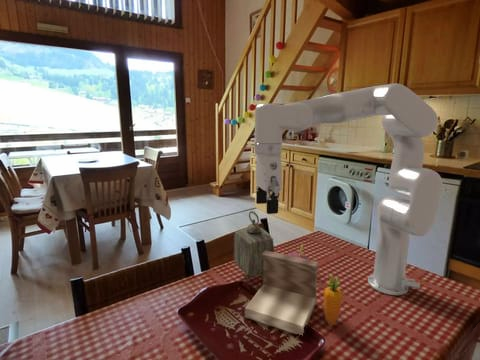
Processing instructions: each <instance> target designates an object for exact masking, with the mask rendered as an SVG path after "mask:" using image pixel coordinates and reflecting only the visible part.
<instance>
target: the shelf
mask: <svg viewBox="0 0 480 360" xmlns="http://www.w3.org/2000/svg"><path fill="white" fill-rule="evenodd" d="M262 259H264V273H263V277H262V279H263V280H262V281H263V282H262V285H261V286H260V288H259V289H258V290H257V292H256V293H255V295H253V296H252V299H251V300H250V301H249V302H248V304H247V305H246V306H245V308H244V318H246V319H249V320H252V321H256V322H258V323H262V324H264V325H268V326H271V327H274V328H276V329H279V330H283V331H285V332H289V333H292V334H295V335H297V334H299V336H300V335H302V336H301V337H303V335H304V334H303V333H305V331H304V327H305V325H307V326H308V324H309V321H310V318H311V316H312V314H313V311H314V308H315V306H316V303H317V290H318V289H317V286H318V271H319V262H318V261H315V260H311V259H309V258H308V259H309V260H308V259H303V258H298V257H294V256H289V255H288V254H284V253H279V252H275V251H274V252H271V251H266V250H265V251H264V252H263V253H262Z"/></svg>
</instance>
